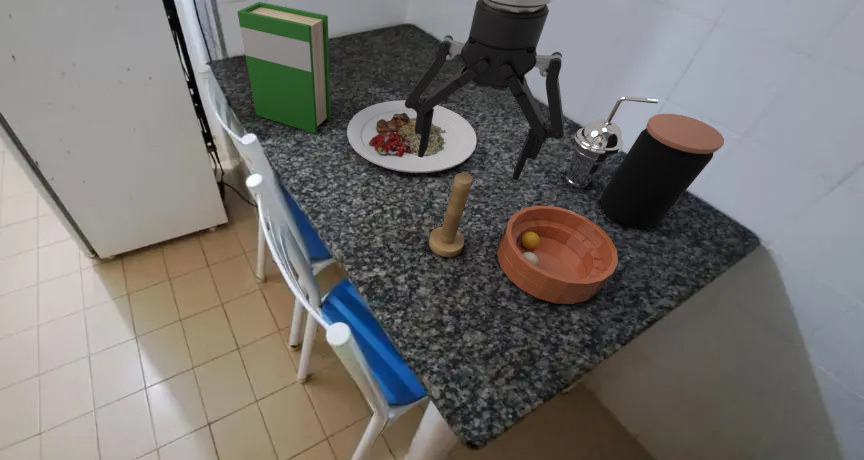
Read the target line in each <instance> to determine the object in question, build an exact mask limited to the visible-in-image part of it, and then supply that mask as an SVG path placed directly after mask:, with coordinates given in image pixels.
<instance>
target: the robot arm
mask: <svg viewBox="0 0 864 460" xmlns="http://www.w3.org/2000/svg"><path fill="white" fill-rule="evenodd" d="M552 1H553V0H477V1H476V2H475V7H474V12H473V15H472V16H473V17H472V20H471V25H470V30H469V33H468V38H467V40H466V41H465V42H462V41H457V40H454V37H453V36H452V35H450V34H447V35H445V36H444V37H443V39H442V40H441V41H440V44H439V46H438V49H437V52H436V55H435V58H434V60H433V61H432V62H431V64H430V65H429V67H428V68H427V70H426V71H425V72H424V74H423V75H422V76H421V78H420V79H419V81H417V84H416V85H415V86H414V88H413V89H412V91H411V92H410V94H409V95H408V97H407V98H406V101H405V107H406V108H409V109H410V108H412V109H414V110H415V111H416V113H417V117H416V124H415V133H416V134H421V140H420V146H419V152H418V157H421V158H423V156H424V154H425V152H426V149H427V146H428V141H429V135H430V130H431V124H432V119H433V113H434V109H432V108H434V107H435V106H436V105H438V106H439V104H440V103H442V102H443V101H444V100H446V99H447V98H448V97H450V96H451V95H453V94H454V93H455V92H456V91H457V90H459V89H460V88H463V87H465V86H466V85H467V84H469V83H470V82H471V81H472V82H473V83H474V84H475V86H476V87H482V88H484V87H486V88H487V87H490V88H492V89H494V90H497V91H503V89H508V88H509V90H510V92H511V94H512V96H513V98H515V99H516V102H517V103H518V105H519V107H520V109H521V111H522V113H523V115H524V117H525V119H526V122H527V123H528V125H529V127H530V128H529V130H528V131H527V132H528V133H527V135H526V137H525V140H524V143H523V145H522V148H521V150H520V153H519V155H518V158H517V160H516V163H515V165H514V168H513V173H512V180H514V181H519V179H520V177H521V174H522V172H523V169H524V167H525V165H526V162H527V159H530V160H535V159H537V157H538V155H539V153H540V151H541V148H542V146H543V144H544V143H545V142H546V141H547V139H550V138H551V139H552V138H553V139H555V140H561V139H562V138H564V136H565V119H564V111H563V103H562V95H561V86H560V77H559V76H560V72H561V69H562V63H563V54H562V53H561V52H559V51H555V52H552V53H551V54H550V55H549V54H548V55H547V54H537V53H538V52H537V47H538V44H539V41H540V39H541V35H542V32H543V30H544V27H545V24H546V22H547V19H548V15H549V12H550V9H549V7H548V5H549V4H550V3H552ZM457 55H460V58H461V60H462V63H463V64H464V65H463V67H461V68H460V69H459V70H458V71H457V72H456V73H454V74H453V75H452V76H451V77H450V78H448V79H447V80H446V81H445V82H444V83H443V84H440V85H439V86H438V87H437V88H436V89H434V91H432V92H431V93H430V94H428V95H427V96H426V97H423V98H422V95H423V94H424V92H425V91H426V90H427V88H428V86H430V84H431V83H432V82H433V80H434V79H435V77H436V76H437V75H438V74H439V72H440V71H441V69H442V68H443V67H444V65H445V63H446V61H452V60H453V59H454V58H455V57H456V56H457ZM534 68H537V69H538V70H539V75H540V76H541V77H543V78H545V91H546V98H547V106H548V112H549V118H550V123H547V122H546V120H545V118H544V115H543V113H542V111H541V109H540V107H539V104H538V103H537V101H536V99H535V97H534V95H533V93H532V91H531V88H530V87H529V84H528V80H527V78H526V75H527V74H528V73H529V72H530V71H532V70H534Z"/></svg>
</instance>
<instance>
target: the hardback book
mask: <svg viewBox="0 0 864 460" xmlns="http://www.w3.org/2000/svg"><path fill="white" fill-rule="evenodd" d="M236 13H237V17H238V24H239V28H240V29H239V30H240V34H241V39H242V46H243V49H244V55H245V61H246V67H247V71H248V76H249V78H248V79H249V82H250V87H251V94H252V99H253V104H254V109H255V114H256V116H259V117H261V118H264V119H268V120H271V121H274V122H277V123H281V124H283V125H287V126H290V127H293V128H295V129H296V128H297V129H299V130H302V131H306V132H309V133H312V134H315V135H316V134H317V133H318V127H319V126H320V125H321V124H322V123H323V122H324V121H327V122H330V121H331V120H332V107H331V103H332V102H331V77H330V75H331V74H330V45H329V17H328V15H327V14H322V13H318V12H313V11H307V10H303V9H298V8H294V7H293V8H292V7H287V6H283V5H278V4H272V3H267V2H262V1H258V2H255V3H254V4H250V5H248V6H246V7H244V8H242V9H240V10H237V12H236Z"/></svg>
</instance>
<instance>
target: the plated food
mask: <svg viewBox="0 0 864 460" xmlns="http://www.w3.org/2000/svg"><path fill="white" fill-rule="evenodd" d="M406 100H407V99H406ZM406 100H404V99H403V100H402V99H401V100H400V99H399V100H398V99H397V100H387V101H383V102H379V103H378V102H377V103H375V104H373V105H370V106H367V107H365V108H363V109H361V110H359V111H358V112H357V113H356V114H354V115H353V117H352V118H351V119H350V120H349V122H348V126H347V127H346V130H347V131H346V132H347V133H346V134H347V135H346V137H347V140H348V143H349V145H350V146H351V147H352V149H353V150H354V151H355V152H356V153H357V154H358V155H359V156H361V157H362V158H363V159H365V160H367V161H368V162H370V163H372V164H375V165H377V166H380V167H382V168H385V169H388V170H392V171H396V172H402V173H411V174H418V173H419V174H427V173H435V172H442V171H445V170H449V169H452V168H454V167H457V166H459V165H461V164H463V163H464V162H465V161H466V160H468V159H470V157H471V156H472V154H473V153H474V152H475V149H476V146H477V144H478V143H477V134H476V132H475V129H474V127H472V125H471V123H470V122H469V121H468V120H466V119H465V118H464V117H463V116H461V114H458V113H456V112H455V111H453V110H451V109H450V108H447V107H444V106H441V105H439V104H438V105H436V106H435V107H434V108H432V109H434V113H433V119H432V124H431V130H430V135H429V141H428V146H427V149H426V152H425V154H424V156H423V158H421V157H418V152H419V146H420V140H421V134H416V133H415V124H416V117H417V113H416V111H415V110H414V109H412V108H410V109H409V108H406V107H405V101H406Z"/></svg>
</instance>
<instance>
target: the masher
mask: <svg viewBox="0 0 864 460" xmlns="http://www.w3.org/2000/svg"><path fill="white" fill-rule="evenodd" d="M473 180H474V179H473V176H472V175H471V174H469V173H466V172H459V173H456V174H455V176H454V180H453V184H452V188H451V191H450V196H449V199H448V203H447V207H446V210H445V215H444V218H443V222H442V226H438V227H435V228H433V230H432V231H431V232H430V234H429V239H428V247H429V249H430V250H431V251H432V252H433V253H434V254H436V255H437V256H439V257H443V258H454V257H456V256H458V255H460V254H461V253H462V251H463V249H464V246H465V238H464V235H463V234H462V233H461V232H460V231H459V228H460V224H461V220H462V217H463V213H464V211H465V207H466V204H467V201H468V197H469V193H470V190H471V187H472V184H473Z"/></svg>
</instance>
